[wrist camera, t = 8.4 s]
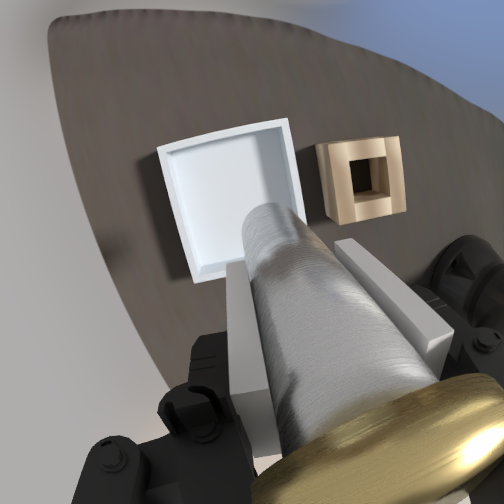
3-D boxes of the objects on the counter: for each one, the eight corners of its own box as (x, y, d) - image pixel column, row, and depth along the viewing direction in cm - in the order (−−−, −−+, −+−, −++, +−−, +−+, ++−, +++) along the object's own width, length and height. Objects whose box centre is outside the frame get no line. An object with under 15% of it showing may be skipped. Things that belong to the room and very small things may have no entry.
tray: (281, 120, 33) (287, 117, 29) (303, 246, 38) (311, 257, 35) (164, 147, 33) (156, 147, 29) (197, 269, 38) (194, 283, 35)
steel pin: (307, 182, 17) (574, 364, 2) (317, 262, 19) (468, 499, 4) (219, 198, 17) (205, 530, 2) (237, 279, 19) (272, 569, 4)
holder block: (379, 136, 34) (398, 136, 29) (387, 202, 37) (406, 211, 32) (314, 144, 34) (327, 144, 29) (326, 214, 37) (339, 225, 32)
